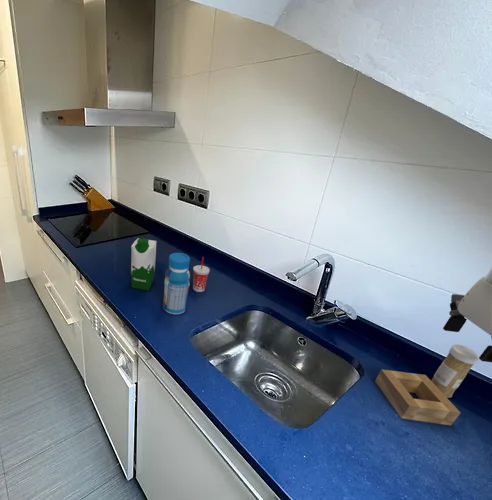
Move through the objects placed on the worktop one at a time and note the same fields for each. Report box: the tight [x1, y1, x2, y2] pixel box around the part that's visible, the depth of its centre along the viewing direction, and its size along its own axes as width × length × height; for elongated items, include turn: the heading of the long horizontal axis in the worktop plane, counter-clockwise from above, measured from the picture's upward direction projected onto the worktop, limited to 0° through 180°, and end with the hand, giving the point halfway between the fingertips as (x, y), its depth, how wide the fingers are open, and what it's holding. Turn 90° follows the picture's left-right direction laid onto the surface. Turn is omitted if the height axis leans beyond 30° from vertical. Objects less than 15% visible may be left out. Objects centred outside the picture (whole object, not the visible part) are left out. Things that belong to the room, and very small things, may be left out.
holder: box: [374, 368, 461, 426], centre depth 68 cm, size 10×10×4 cm
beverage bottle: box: [162, 252, 191, 315], centre depth 95 cm, size 8×8×20 cm
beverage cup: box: [192, 256, 211, 293], centre depth 108 cm, size 6×6×14 cm
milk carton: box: [130, 237, 157, 291], centre depth 109 cm, size 9×9×20 cm
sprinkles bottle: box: [430, 344, 481, 399], centre depth 69 cm, size 5×5×14 cm
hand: (467, 344), depth 66 cm, fingers open, 9 cm apart
